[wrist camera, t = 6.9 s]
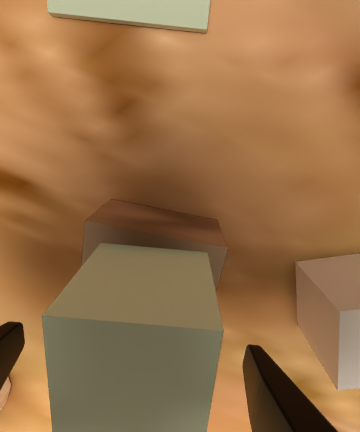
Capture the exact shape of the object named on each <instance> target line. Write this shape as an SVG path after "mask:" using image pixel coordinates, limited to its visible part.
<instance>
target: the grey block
mask: <svg viewBox="0 0 360 432" xmlns="http://www.w3.org/2000/svg"><path fill="white" fill-rule="evenodd" d="M295 264H296V296H297V324H298V326H299V328H300V329H301V331H302V332H303V334H304V336H305V337H306V339H307V341H308V342H309V344H310V346H311V347H312V349H313V351H314V352H315V354H316V356H317V357H318V359H319V361H320V362H321V364H322V366H323V367H324V369H325V370H326V372H327V374H328V375H329V377H330V379H331V380H332V382H333V384H334V385H335V387H336V389H337V390H348V389H358V388H360V253H357V254H349V255H342V256H335V257H327V258H320V259H312V260H305V261H298V262H295Z"/></svg>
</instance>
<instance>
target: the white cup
mask: <svg viewBox="0 0 360 432" xmlns="http://www.w3.org/2000/svg"><path fill="white" fill-rule="evenodd" d="M10 388H11V383H10V380H9V377H8V378H7V379H6V381H5V383H4V385H3V387H2V389H1V390H0V410H1V409H2V407H3V406H4V404H5V403H6V401H7V398H8V395H9V391H10Z"/></svg>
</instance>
